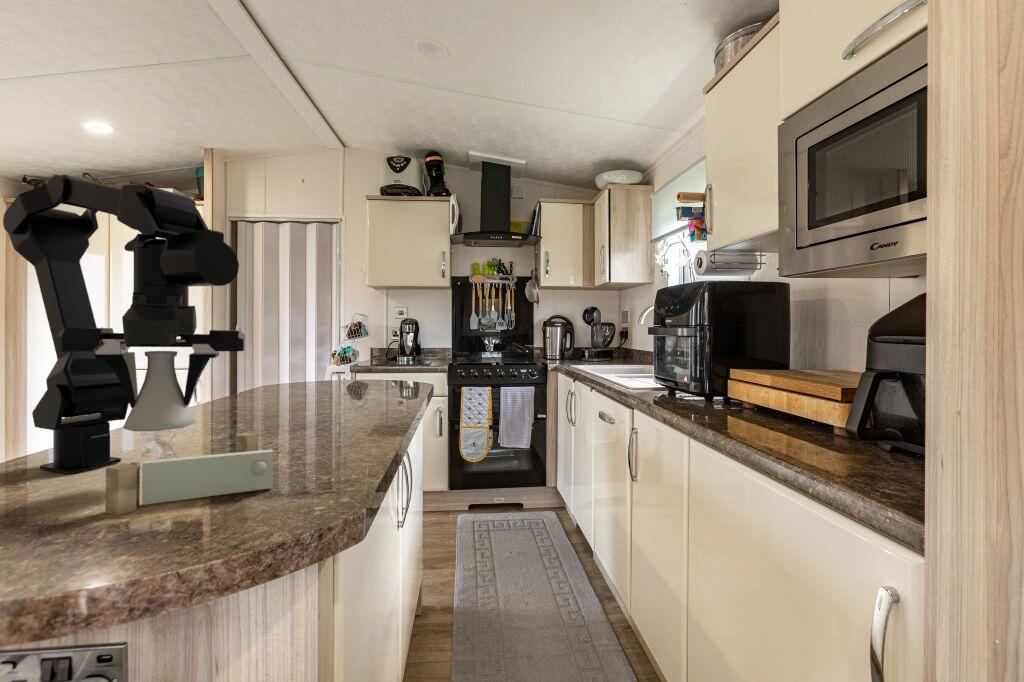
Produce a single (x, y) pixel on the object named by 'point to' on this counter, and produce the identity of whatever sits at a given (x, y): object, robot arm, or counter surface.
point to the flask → (160, 397)
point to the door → (206, 475)
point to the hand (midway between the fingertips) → (161, 406)
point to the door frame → (127, 479)
